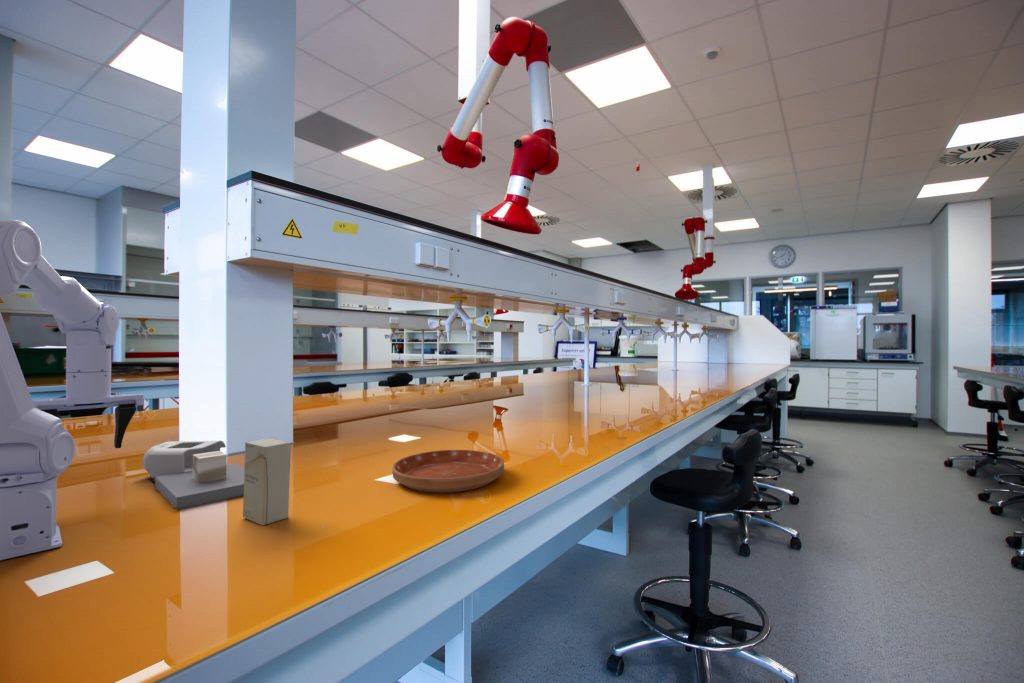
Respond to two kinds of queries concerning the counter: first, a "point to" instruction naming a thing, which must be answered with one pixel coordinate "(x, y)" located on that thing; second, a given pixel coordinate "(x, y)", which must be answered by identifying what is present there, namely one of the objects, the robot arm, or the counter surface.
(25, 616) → the counter surface
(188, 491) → the base plate
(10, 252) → the robot arm
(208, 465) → the ash cube
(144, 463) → the cable organizer
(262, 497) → the skincare box
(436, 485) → the saucer
